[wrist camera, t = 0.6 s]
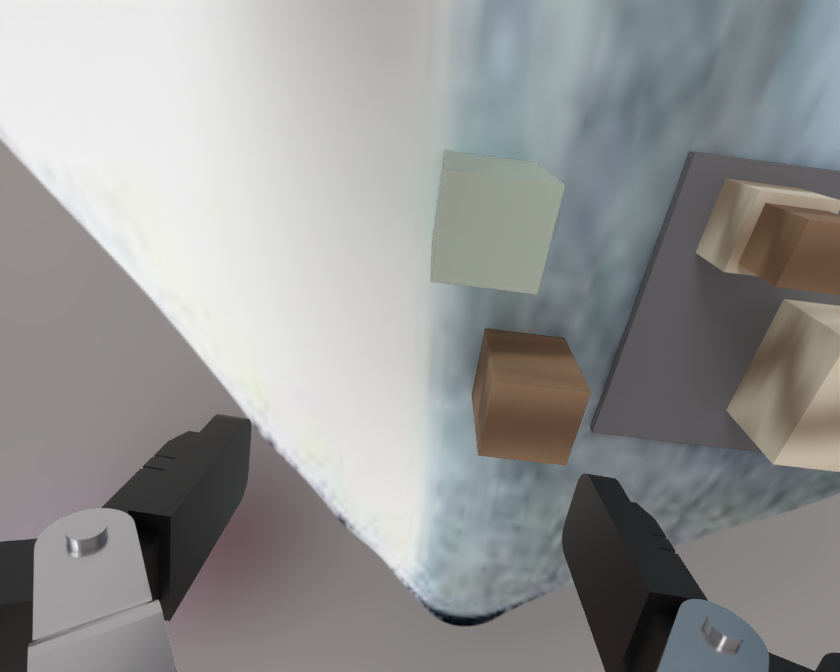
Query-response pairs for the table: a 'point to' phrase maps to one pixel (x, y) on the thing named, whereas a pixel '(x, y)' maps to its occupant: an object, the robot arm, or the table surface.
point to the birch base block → (795, 388)
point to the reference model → (775, 235)
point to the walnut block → (527, 397)
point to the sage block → (493, 222)
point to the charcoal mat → (698, 317)
